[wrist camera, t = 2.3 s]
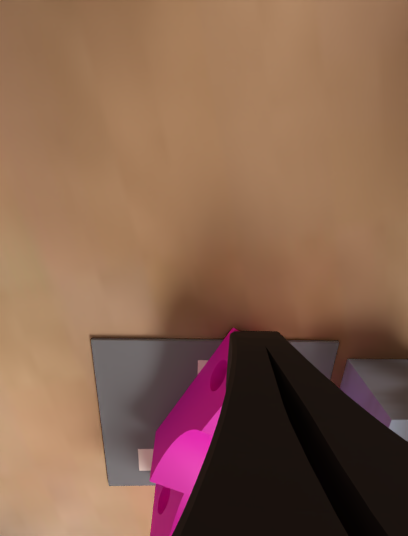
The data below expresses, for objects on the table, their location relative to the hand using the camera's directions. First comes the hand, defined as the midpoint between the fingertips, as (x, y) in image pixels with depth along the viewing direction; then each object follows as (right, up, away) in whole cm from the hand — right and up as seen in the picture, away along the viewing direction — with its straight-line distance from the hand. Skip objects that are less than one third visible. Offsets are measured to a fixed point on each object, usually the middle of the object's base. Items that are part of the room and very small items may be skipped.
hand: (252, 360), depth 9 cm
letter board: (-1, -9, +14) cm, 16 cm away
